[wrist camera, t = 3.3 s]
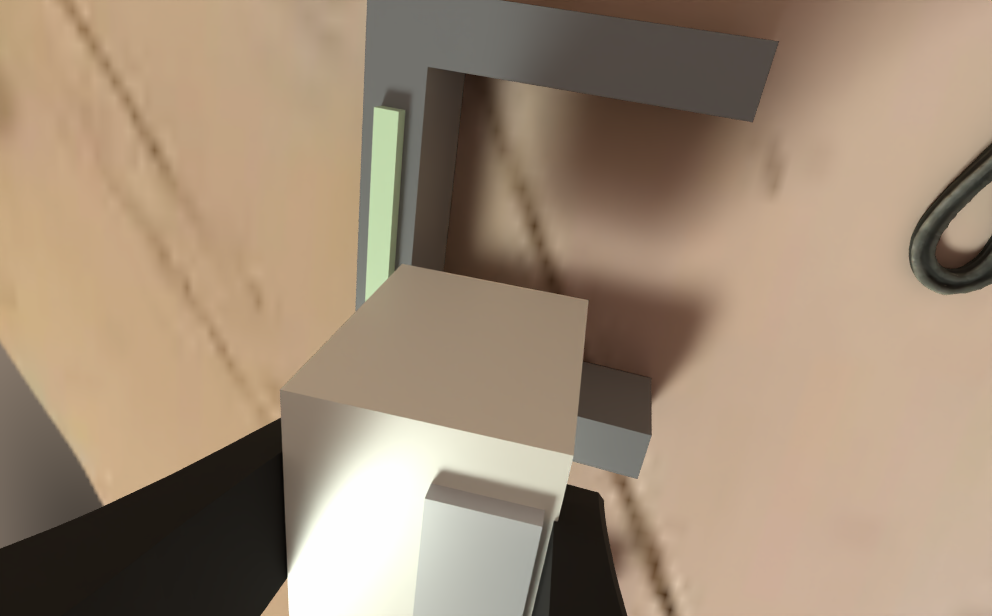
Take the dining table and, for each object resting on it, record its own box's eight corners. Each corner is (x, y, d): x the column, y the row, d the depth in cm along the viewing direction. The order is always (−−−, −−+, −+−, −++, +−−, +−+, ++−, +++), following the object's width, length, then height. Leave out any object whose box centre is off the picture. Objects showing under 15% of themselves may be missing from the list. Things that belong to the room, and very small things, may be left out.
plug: (588, 300, 12) (571, 471, 7) (547, 484, 14) (513, 711, 9) (402, 263, 12) (267, 401, 7) (390, 448, 14) (280, 646, 10)
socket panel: (754, 43, 14) (782, 41, 11) (579, 613, 23) (568, 699, 19) (417, -7, 15) (359, -22, 12) (378, 549, 24) (339, 621, 21)
